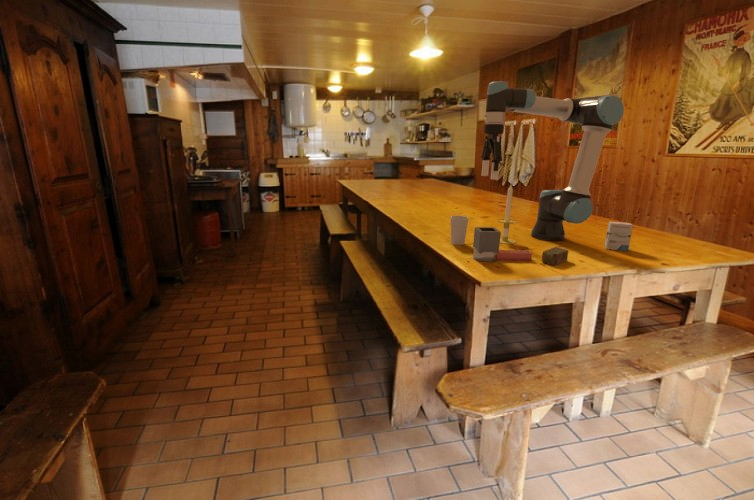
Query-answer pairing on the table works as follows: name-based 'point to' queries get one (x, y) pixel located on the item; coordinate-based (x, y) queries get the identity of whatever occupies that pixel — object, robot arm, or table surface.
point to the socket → (486, 239)
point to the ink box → (618, 236)
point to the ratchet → (503, 255)
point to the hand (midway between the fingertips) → (489, 177)
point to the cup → (458, 229)
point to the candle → (507, 219)
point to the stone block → (554, 256)
